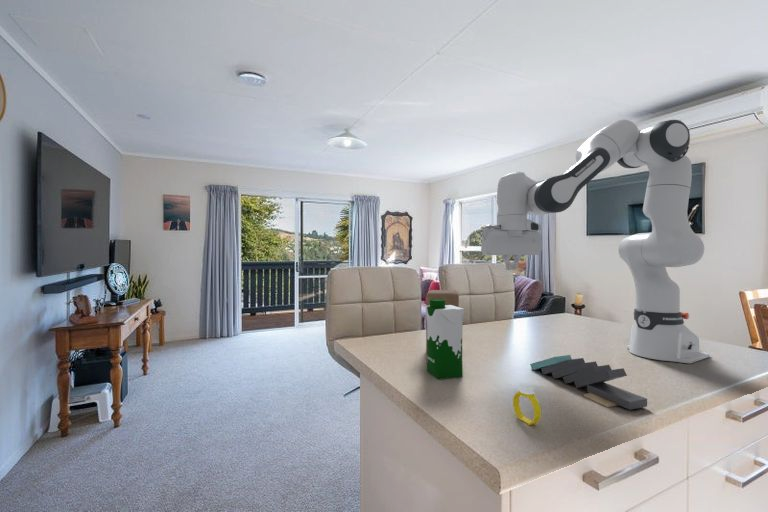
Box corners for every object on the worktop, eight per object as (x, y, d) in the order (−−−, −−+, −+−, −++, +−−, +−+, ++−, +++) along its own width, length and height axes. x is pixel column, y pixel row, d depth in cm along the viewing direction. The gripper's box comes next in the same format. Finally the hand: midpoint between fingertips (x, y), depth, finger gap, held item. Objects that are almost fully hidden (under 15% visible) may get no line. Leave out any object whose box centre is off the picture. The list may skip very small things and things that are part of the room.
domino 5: (573, 381, 86) (606, 370, 78) (589, 378, 87) (623, 368, 79) (576, 387, 85) (610, 378, 77) (592, 385, 87) (627, 375, 78)
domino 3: (551, 372, 93) (579, 363, 84) (566, 370, 94) (595, 361, 86) (553, 378, 92) (582, 370, 84) (568, 376, 93) (598, 368, 85)
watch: (543, 428, 67) (545, 397, 66) (531, 431, 66) (533, 399, 65) (520, 412, 72) (521, 384, 72) (509, 414, 71) (510, 386, 71)
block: (458, 358, 110) (458, 293, 110) (425, 356, 112) (426, 292, 112) (458, 349, 119) (458, 290, 119) (428, 348, 121) (428, 289, 121)
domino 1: (530, 364, 100) (555, 356, 91) (544, 362, 101) (570, 354, 93) (531, 369, 99) (557, 363, 91) (546, 367, 101) (572, 361, 92)
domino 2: (541, 368, 96) (567, 359, 88) (555, 366, 98) (583, 357, 89) (543, 374, 95) (570, 366, 87) (557, 372, 97) (585, 364, 88)
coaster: (613, 391, 83) (613, 389, 83) (638, 401, 78) (638, 399, 78) (583, 396, 81) (583, 394, 81) (608, 407, 75) (608, 404, 75)
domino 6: (587, 384, 82) (629, 401, 73) (603, 382, 84) (647, 398, 74) (587, 391, 82) (629, 409, 73) (603, 389, 84) (647, 406, 74)
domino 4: (562, 377, 89) (593, 366, 81) (577, 375, 91) (609, 364, 83) (565, 383, 88) (596, 374, 80) (580, 381, 90) (612, 371, 82)
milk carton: (422, 370, 99) (422, 298, 98) (452, 367, 101) (452, 296, 101) (436, 381, 90) (436, 302, 90) (468, 377, 93) (468, 300, 93)
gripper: (489, 223, 104) (489, 271, 104) (545, 225, 111) (545, 269, 111) (476, 225, 110) (476, 270, 110) (530, 226, 117) (530, 269, 117)
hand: (511, 270), depth 111 cm, fingers closed
